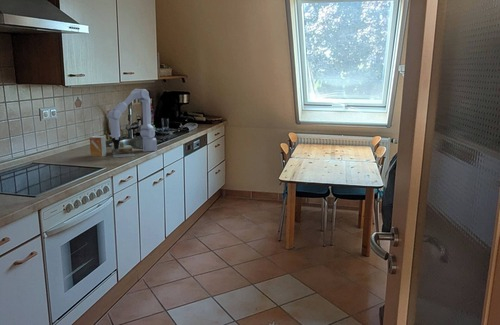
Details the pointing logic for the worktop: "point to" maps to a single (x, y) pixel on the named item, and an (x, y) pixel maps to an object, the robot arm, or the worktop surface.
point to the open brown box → (121, 151)
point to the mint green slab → (123, 146)
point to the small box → (98, 146)
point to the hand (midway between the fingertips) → (116, 148)
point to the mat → (123, 155)
